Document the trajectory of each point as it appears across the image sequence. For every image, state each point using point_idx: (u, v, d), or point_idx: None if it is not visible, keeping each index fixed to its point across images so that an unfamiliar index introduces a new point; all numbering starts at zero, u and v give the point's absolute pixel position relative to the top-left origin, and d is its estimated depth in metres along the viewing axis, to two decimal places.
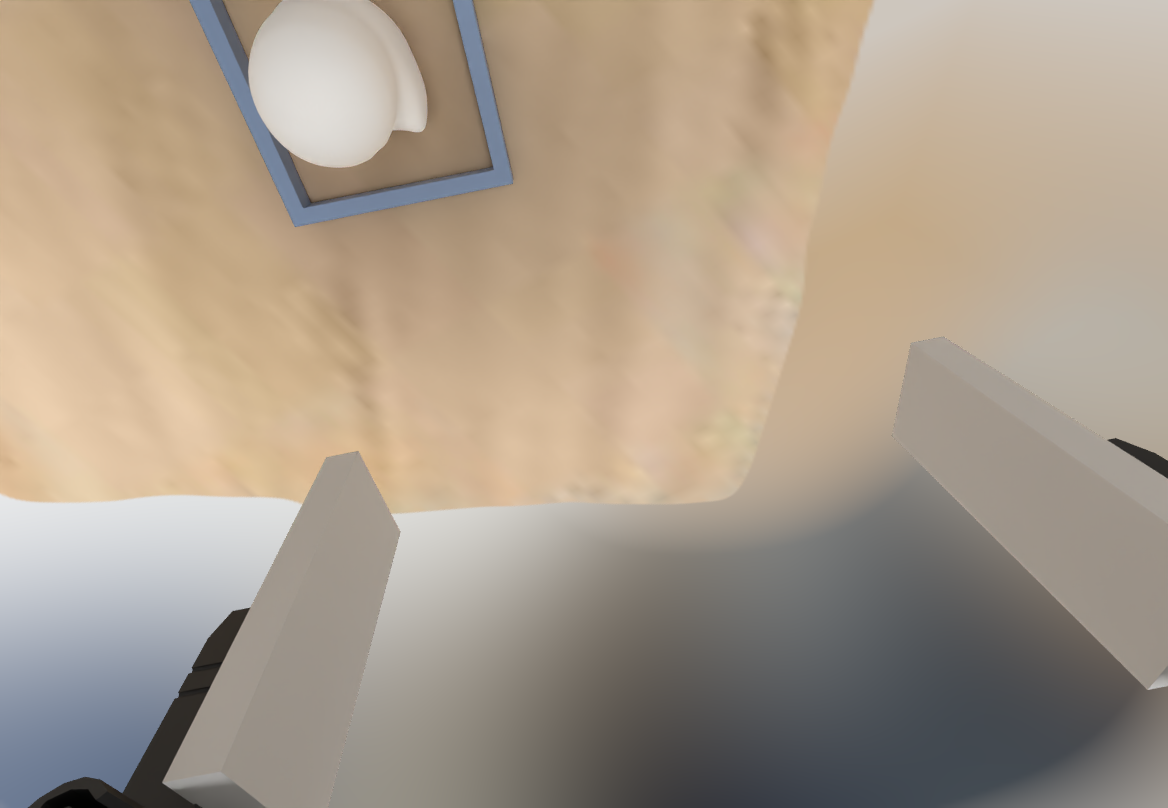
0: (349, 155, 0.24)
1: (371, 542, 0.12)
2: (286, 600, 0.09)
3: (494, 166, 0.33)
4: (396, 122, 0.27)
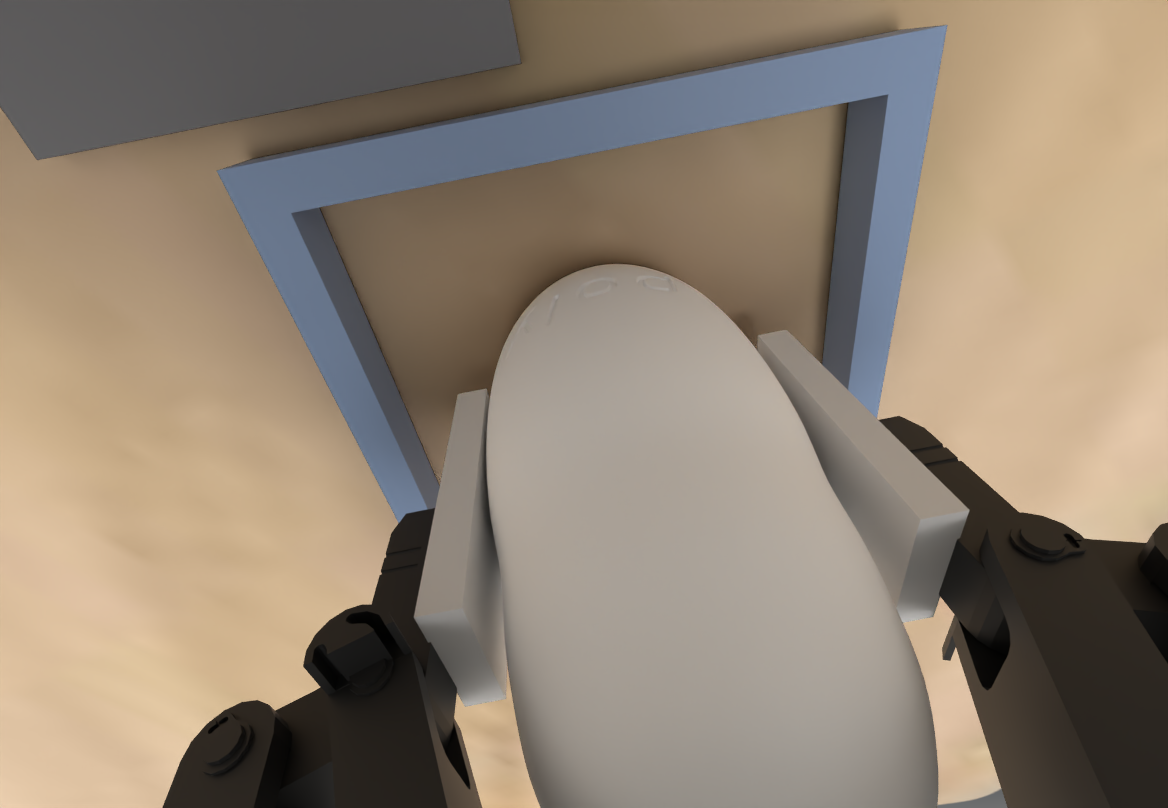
0: None
1: None
2: (467, 495, 0.10)
3: None
4: None
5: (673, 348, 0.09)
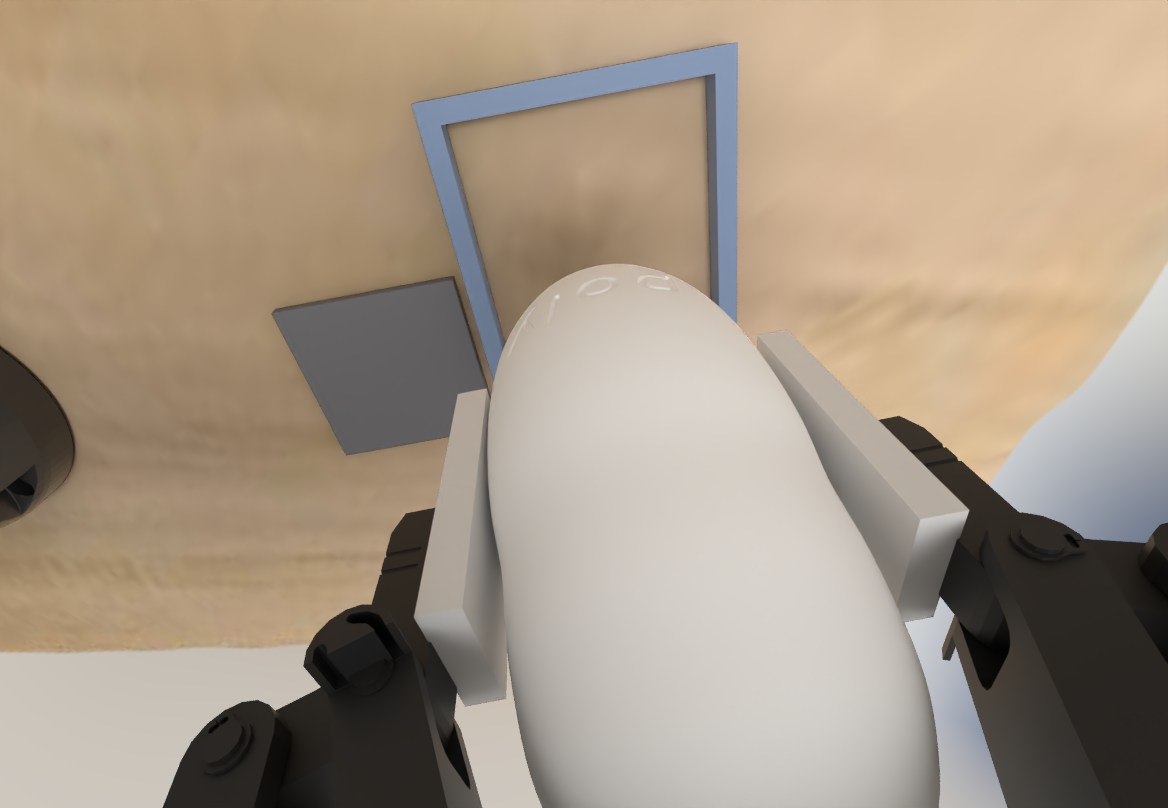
0: None
1: None
2: (467, 496, 0.10)
3: (710, 72, 0.23)
4: None
5: (674, 347, 0.09)
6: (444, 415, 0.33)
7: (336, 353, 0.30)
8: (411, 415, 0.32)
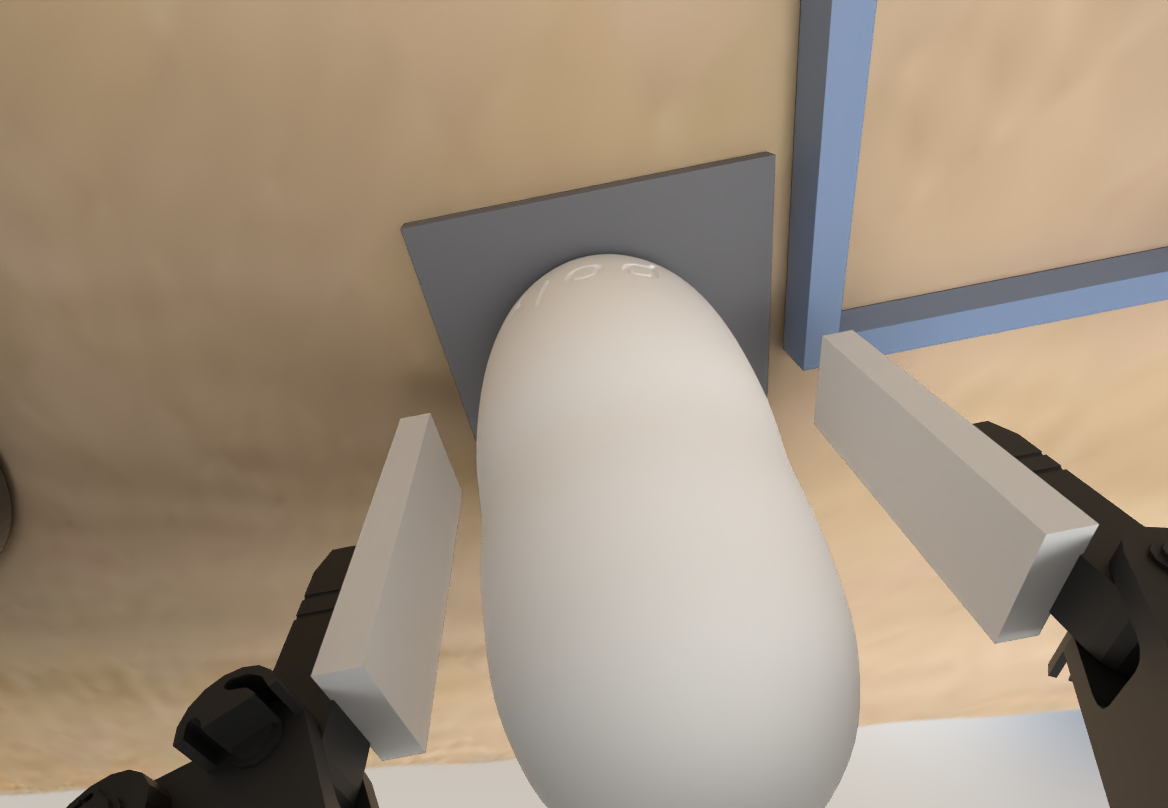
0: None
1: (443, 496, 0.13)
2: (390, 534, 0.09)
3: None
4: None
5: (644, 326, 0.10)
6: None
7: None
8: None
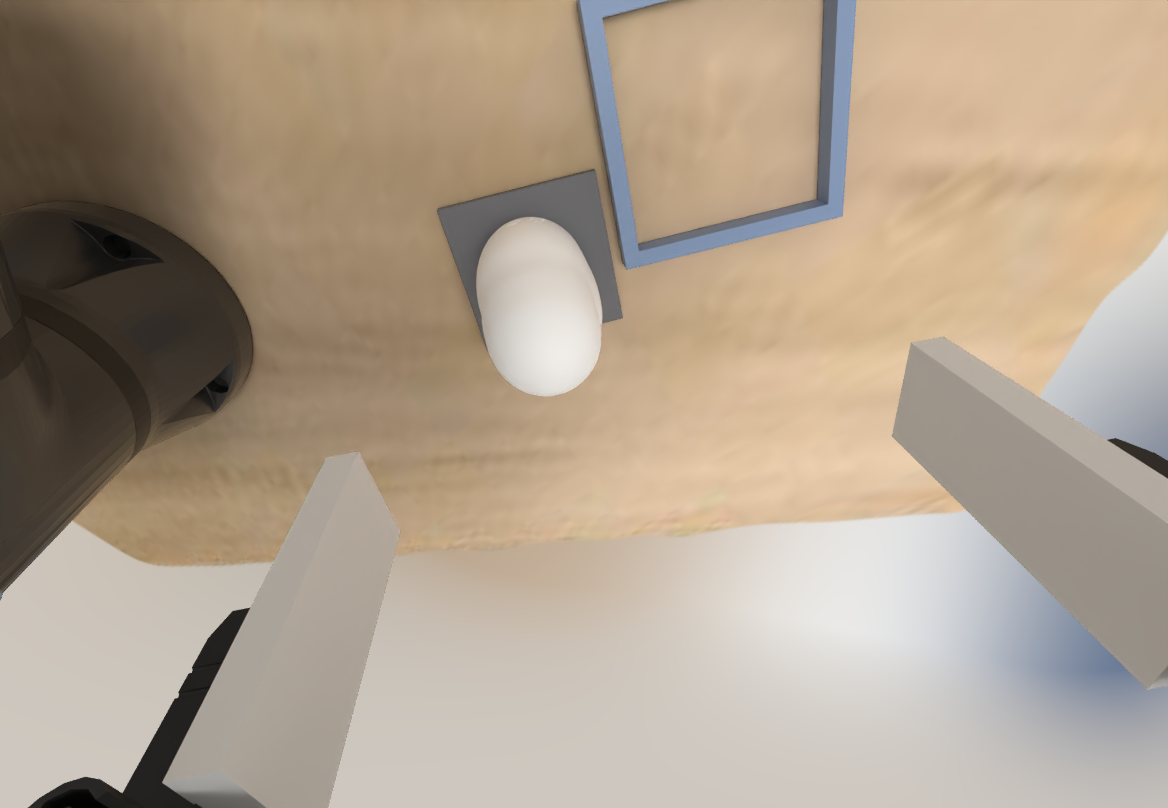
0: (569, 390, 0.27)
1: (371, 542, 0.12)
2: (286, 600, 0.09)
3: None
4: None
5: (532, 236, 0.28)
6: None
7: None
8: None
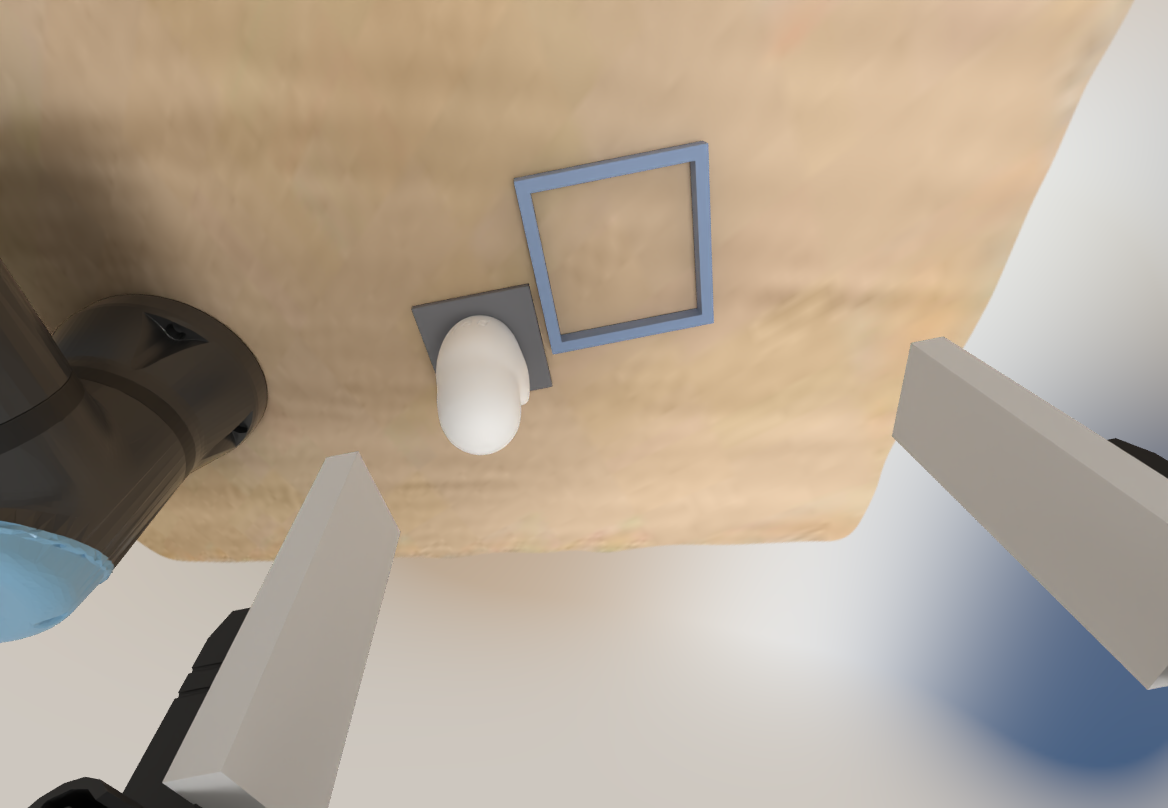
0: (496, 451, 0.39)
1: (371, 542, 0.12)
2: (286, 600, 0.09)
3: (692, 159, 0.39)
4: None
5: (476, 340, 0.40)
6: None
7: None
8: None
